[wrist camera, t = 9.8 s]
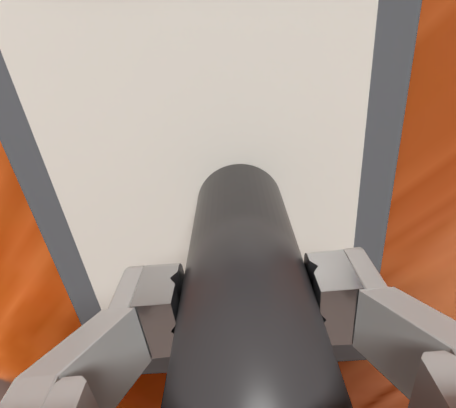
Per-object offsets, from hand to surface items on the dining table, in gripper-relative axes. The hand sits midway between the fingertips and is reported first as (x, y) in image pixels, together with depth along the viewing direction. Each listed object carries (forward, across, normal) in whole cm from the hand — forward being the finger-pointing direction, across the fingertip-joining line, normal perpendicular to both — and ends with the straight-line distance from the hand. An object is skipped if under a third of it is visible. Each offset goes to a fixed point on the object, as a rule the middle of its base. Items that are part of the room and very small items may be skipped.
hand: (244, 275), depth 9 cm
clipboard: (+6, +1, +1) cm, 6 cm away
